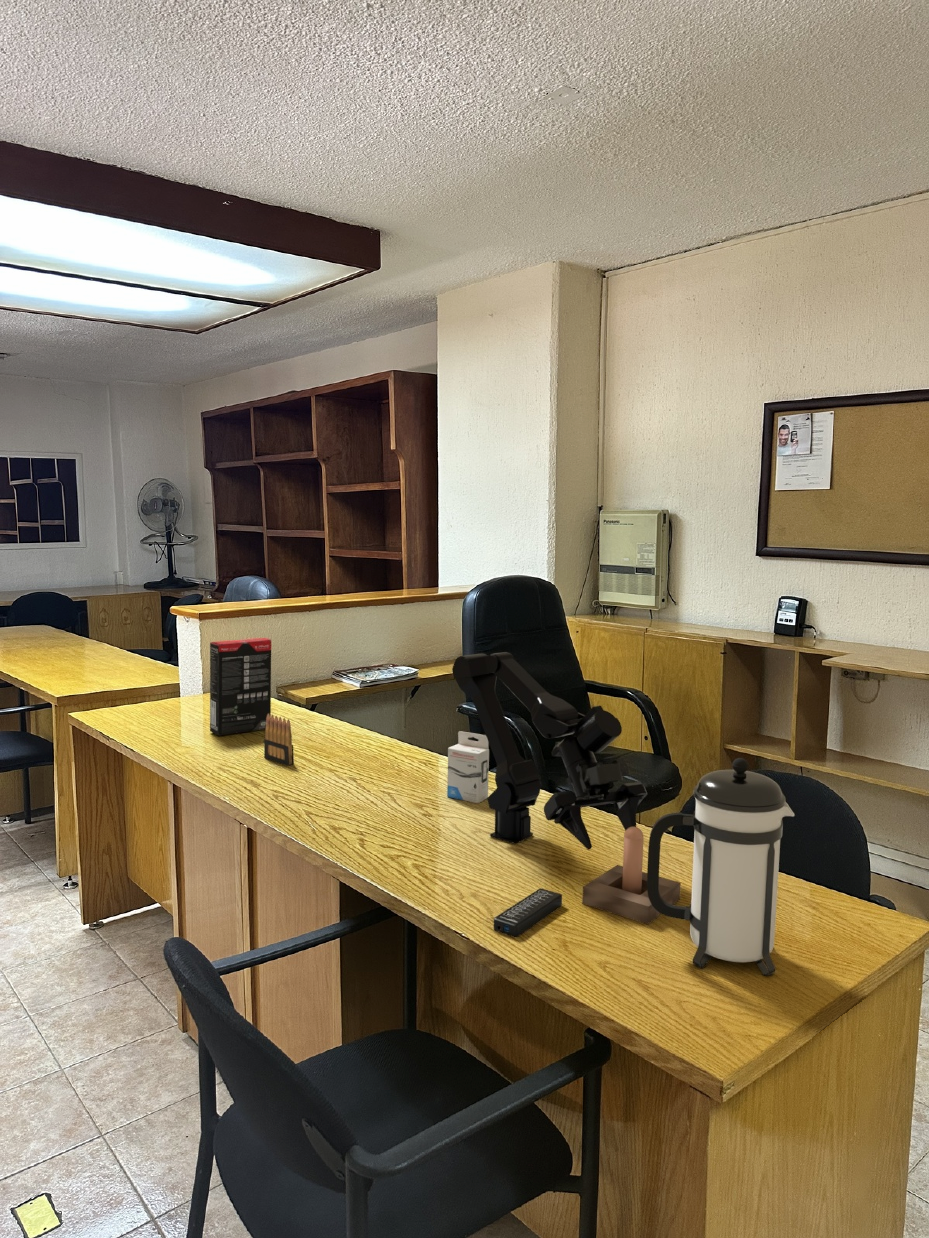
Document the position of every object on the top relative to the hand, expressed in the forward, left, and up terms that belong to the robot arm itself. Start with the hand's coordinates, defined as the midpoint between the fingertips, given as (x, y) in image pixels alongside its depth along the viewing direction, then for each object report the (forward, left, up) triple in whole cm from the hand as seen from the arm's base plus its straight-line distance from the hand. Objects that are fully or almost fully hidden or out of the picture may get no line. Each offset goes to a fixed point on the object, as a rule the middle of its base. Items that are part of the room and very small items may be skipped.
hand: (612, 844), depth 154 cm
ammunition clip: (-106, +15, -8) cm, 107 cm away
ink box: (-50, +23, -8) cm, 55 cm away
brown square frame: (+5, -3, -8) cm, 10 cm away
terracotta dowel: (+5, -3, -8) cm, 10 cm away
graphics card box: (-139, +29, -8) cm, 142 cm away
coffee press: (+24, -11, -8) cm, 28 cm away
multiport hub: (-5, -19, -8) cm, 21 cm away
